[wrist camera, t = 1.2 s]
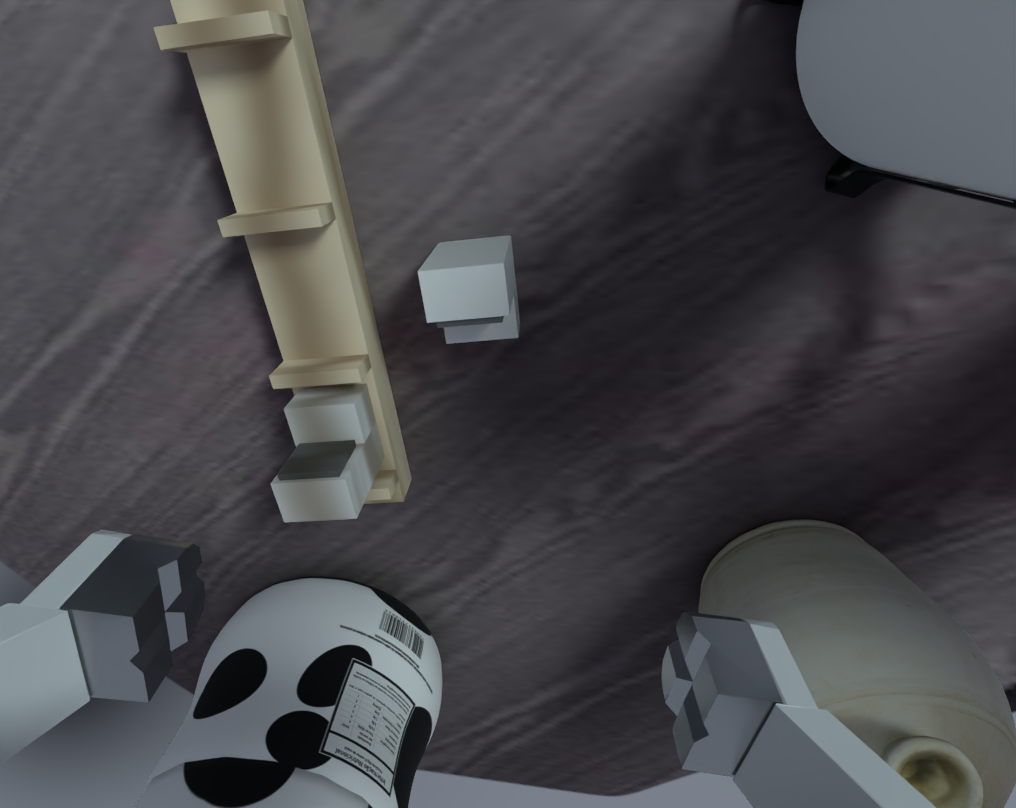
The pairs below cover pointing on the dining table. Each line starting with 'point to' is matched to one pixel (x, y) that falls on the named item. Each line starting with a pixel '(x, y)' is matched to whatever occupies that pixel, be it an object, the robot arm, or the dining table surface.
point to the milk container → (306, 705)
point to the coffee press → (913, 92)
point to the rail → (298, 250)
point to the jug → (875, 656)
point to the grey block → (471, 289)
